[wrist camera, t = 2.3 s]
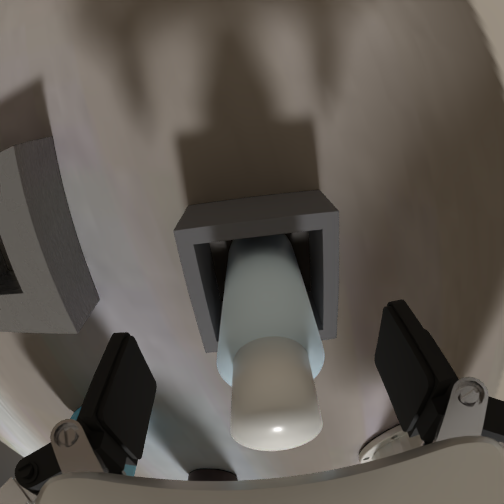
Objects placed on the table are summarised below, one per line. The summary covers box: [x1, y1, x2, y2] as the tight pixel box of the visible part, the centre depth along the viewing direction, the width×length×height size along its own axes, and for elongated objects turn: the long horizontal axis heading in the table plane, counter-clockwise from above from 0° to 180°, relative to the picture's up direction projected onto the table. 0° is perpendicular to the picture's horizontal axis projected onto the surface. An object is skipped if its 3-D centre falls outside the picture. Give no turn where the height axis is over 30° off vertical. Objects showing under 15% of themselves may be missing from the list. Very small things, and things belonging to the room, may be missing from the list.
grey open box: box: [174, 190, 339, 353], centre depth 17 cm, size 8×8×4 cm
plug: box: [217, 234, 325, 451], centre depth 13 cm, size 4×4×12 cm
